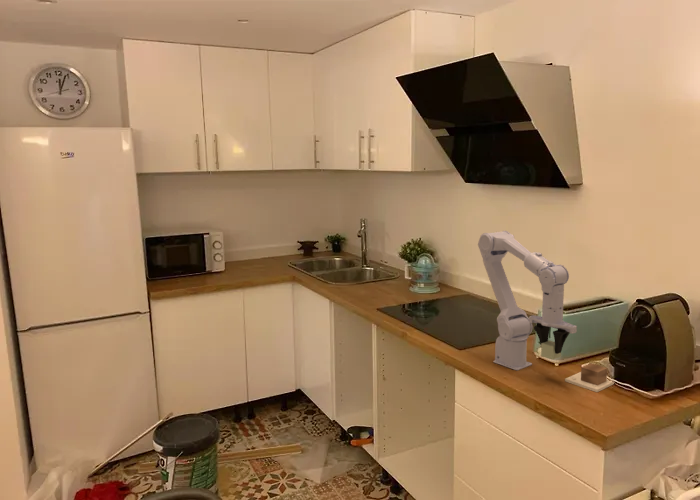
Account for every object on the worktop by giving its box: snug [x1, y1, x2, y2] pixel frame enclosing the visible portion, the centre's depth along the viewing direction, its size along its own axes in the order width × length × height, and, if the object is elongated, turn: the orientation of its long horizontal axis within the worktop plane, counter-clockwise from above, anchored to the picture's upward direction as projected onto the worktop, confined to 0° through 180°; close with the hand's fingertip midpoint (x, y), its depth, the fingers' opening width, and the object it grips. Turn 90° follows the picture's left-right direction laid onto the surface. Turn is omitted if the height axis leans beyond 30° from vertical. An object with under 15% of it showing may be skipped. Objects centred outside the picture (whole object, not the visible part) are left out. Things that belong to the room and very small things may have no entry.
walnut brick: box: [580, 363, 608, 385], centre depth 155 cm, size 5×5×4 cm
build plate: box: [564, 371, 615, 393], centre depth 156 cm, size 10×10×1 cm
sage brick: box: [540, 339, 562, 361], centre depth 157 cm, size 4×4×4 cm
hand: (551, 350), depth 157 cm, fingers closed on sage brick, 4 cm apart
